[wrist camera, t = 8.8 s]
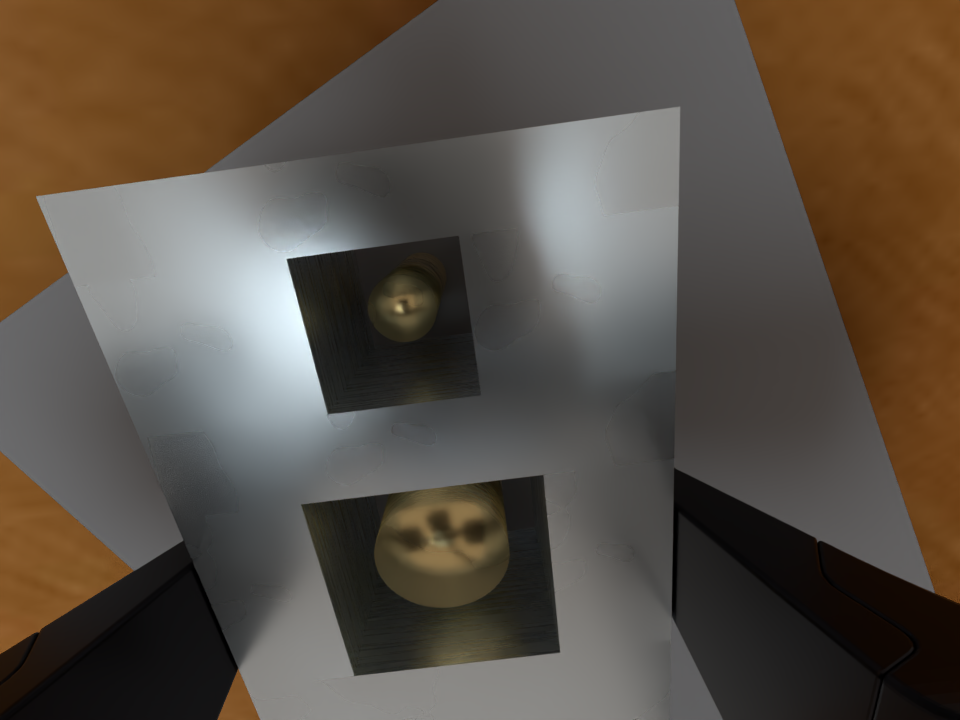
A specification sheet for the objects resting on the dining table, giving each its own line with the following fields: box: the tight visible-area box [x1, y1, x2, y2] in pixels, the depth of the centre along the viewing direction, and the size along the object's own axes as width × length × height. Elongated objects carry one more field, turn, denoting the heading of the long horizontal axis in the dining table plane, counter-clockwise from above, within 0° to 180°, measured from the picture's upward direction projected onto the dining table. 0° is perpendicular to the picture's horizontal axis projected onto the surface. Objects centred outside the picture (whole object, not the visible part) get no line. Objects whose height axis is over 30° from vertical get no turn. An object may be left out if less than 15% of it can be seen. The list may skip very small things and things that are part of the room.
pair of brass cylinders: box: [368, 253, 510, 608], centre depth 8 cm, size 6×2×4 cm, turn 7°
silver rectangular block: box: [36, 107, 680, 720], centre depth 8 cm, size 12×7×3 cm, turn 7°
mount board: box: [0, 0, 935, 720], centre depth 13 cm, size 26×18×1 cm
